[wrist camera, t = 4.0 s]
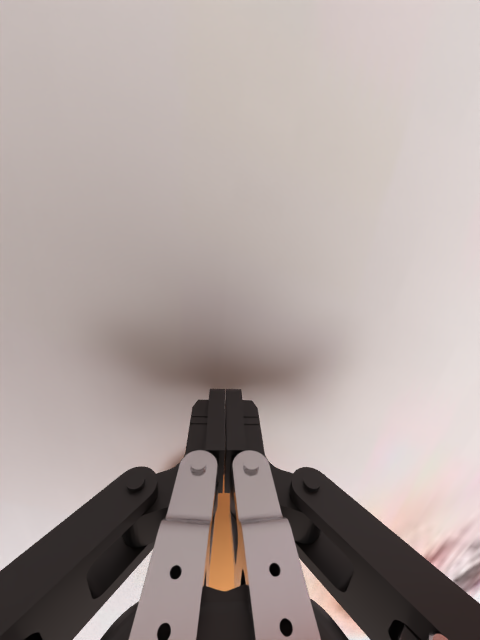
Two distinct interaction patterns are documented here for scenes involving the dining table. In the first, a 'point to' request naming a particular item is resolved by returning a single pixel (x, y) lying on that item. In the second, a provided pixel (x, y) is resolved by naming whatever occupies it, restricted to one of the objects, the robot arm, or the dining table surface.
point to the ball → (222, 547)
